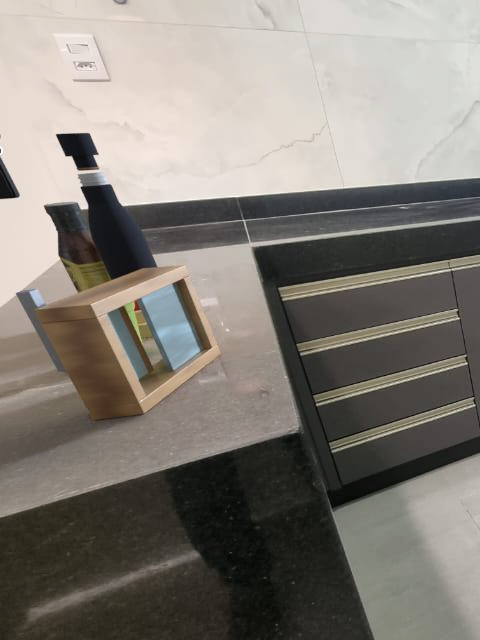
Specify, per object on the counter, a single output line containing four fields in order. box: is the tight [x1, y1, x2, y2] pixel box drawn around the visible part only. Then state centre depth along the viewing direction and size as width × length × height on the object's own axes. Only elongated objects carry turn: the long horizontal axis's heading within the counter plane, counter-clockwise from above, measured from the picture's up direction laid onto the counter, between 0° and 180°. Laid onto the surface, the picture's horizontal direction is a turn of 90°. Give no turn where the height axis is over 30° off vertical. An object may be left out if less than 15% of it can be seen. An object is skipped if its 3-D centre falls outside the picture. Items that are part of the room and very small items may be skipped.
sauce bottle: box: [43, 201, 111, 293], centre depth 90 cm, size 7×6×20 cm
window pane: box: [15, 288, 154, 380], centre depth 60 cm, size 4×8×13 cm, turn 13°
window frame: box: [34, 264, 222, 421], centre depth 65 cm, size 5×18×13 cm, turn 13°
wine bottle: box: [55, 132, 158, 280], centre depth 88 cm, size 6×6×30 cm
